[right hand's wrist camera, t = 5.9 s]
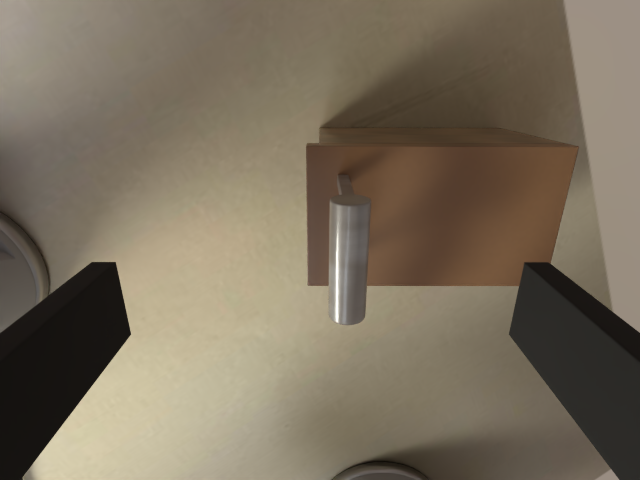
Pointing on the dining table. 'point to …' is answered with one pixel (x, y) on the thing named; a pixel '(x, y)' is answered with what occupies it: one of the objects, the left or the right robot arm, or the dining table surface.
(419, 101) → the dining table surface
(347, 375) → the dining table surface
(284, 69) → the dining table surface
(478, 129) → the chest
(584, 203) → the dining table surface
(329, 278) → the lid
